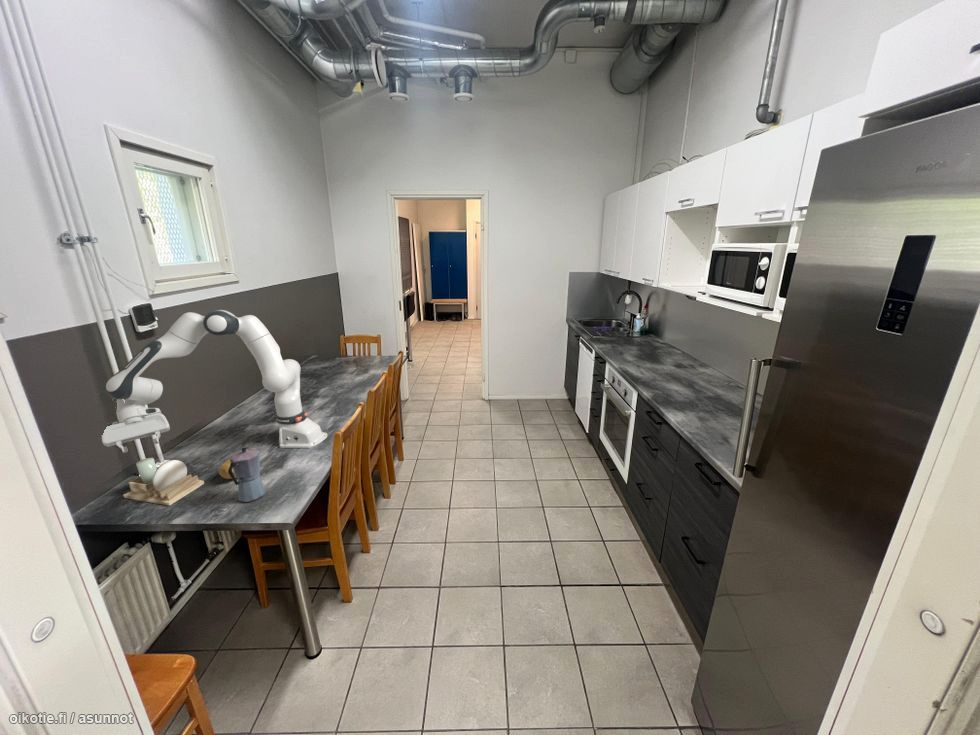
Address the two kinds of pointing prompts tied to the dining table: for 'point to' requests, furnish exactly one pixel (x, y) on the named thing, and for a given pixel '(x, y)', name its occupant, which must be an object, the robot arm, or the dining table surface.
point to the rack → (165, 484)
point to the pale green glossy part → (146, 469)
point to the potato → (226, 470)
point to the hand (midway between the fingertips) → (141, 447)
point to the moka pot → (247, 474)
